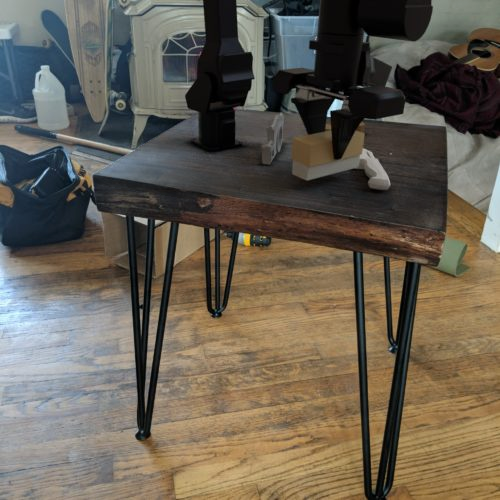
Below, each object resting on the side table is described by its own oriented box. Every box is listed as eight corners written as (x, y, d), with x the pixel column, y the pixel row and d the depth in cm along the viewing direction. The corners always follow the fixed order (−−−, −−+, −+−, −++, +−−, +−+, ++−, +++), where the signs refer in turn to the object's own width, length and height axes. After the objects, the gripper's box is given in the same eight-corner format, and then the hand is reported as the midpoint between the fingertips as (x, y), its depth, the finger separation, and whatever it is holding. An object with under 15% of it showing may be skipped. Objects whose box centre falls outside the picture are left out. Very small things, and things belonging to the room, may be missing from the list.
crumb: (343, 133, 96) (345, 122, 95) (355, 131, 97) (356, 120, 96) (355, 137, 93) (357, 126, 93) (367, 134, 95) (368, 124, 94)
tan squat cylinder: (313, 136, 91) (314, 125, 90) (324, 134, 93) (326, 123, 92) (326, 140, 89) (327, 129, 88) (337, 138, 91) (339, 126, 90)
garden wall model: (271, 166, 78) (273, 127, 76) (259, 165, 79) (261, 126, 76) (284, 143, 89) (286, 109, 86) (274, 142, 89) (275, 108, 86)
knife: (317, 126, 96) (359, 127, 96) (316, 135, 97) (358, 136, 96) (335, 178, 69) (393, 179, 69) (334, 190, 70) (391, 191, 70)
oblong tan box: (290, 173, 70) (292, 137, 68) (342, 160, 76) (346, 127, 73) (308, 181, 68) (311, 144, 66) (360, 168, 73) (365, 133, 71)
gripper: (445, 38, 61) (420, 164, 69) (333, 23, 74) (323, 130, 82) (382, 43, 55) (363, 180, 63) (273, 26, 68) (268, 141, 76)
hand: (327, 155), depth 71 cm, fingers closed on oblong tan box, 3 cm apart
